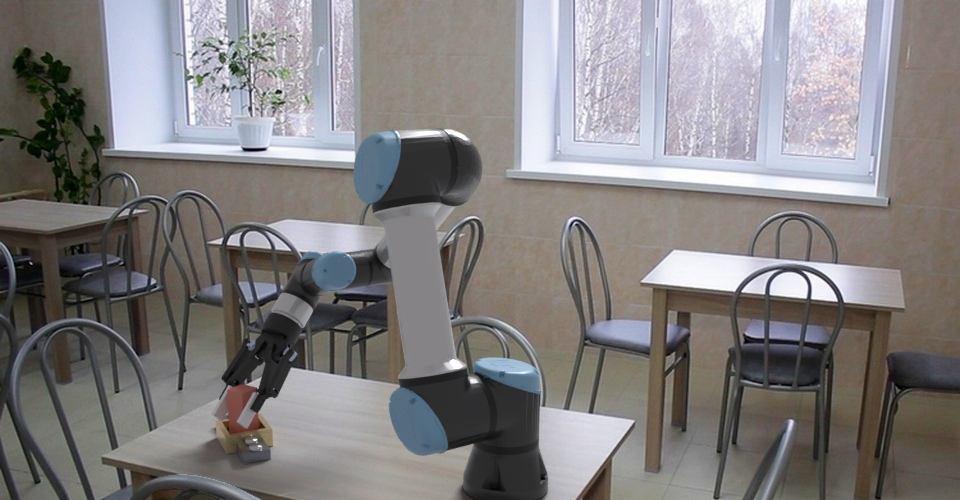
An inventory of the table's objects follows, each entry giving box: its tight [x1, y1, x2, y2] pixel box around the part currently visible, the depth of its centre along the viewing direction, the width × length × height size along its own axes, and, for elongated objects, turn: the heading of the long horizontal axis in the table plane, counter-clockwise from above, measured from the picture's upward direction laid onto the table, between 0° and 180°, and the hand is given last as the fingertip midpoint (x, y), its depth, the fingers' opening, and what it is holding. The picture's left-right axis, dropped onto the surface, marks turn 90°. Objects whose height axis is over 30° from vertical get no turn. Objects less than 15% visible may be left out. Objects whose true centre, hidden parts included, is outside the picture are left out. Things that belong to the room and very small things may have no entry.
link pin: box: [227, 383, 259, 434], centre depth 192 cm, size 4×4×11 cm
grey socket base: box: [215, 412, 274, 465], centre depth 193 cm, size 21×9×4 cm, turn 27°
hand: (229, 421), depth 189 cm, fingers open, 6 cm apart
